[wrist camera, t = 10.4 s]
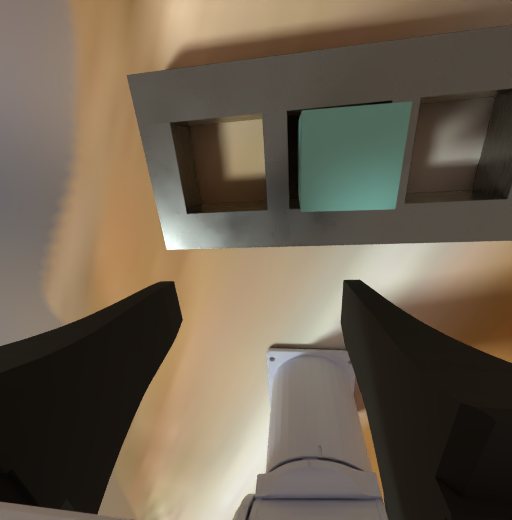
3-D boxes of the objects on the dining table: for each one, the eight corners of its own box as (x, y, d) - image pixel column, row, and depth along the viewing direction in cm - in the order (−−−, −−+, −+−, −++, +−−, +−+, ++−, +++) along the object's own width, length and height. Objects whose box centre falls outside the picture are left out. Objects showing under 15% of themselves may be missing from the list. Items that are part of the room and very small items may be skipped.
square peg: (357, 185, 17) (395, 209, 11) (297, 187, 18) (300, 211, 12) (363, 118, 16) (412, 101, 10) (297, 123, 16) (302, 110, 10)
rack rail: (494, 225, 17) (531, 239, 15) (183, 235, 21) (166, 249, 18) (550, 38, 13) (617, 11, 11) (153, 86, 17) (126, 75, 14)
